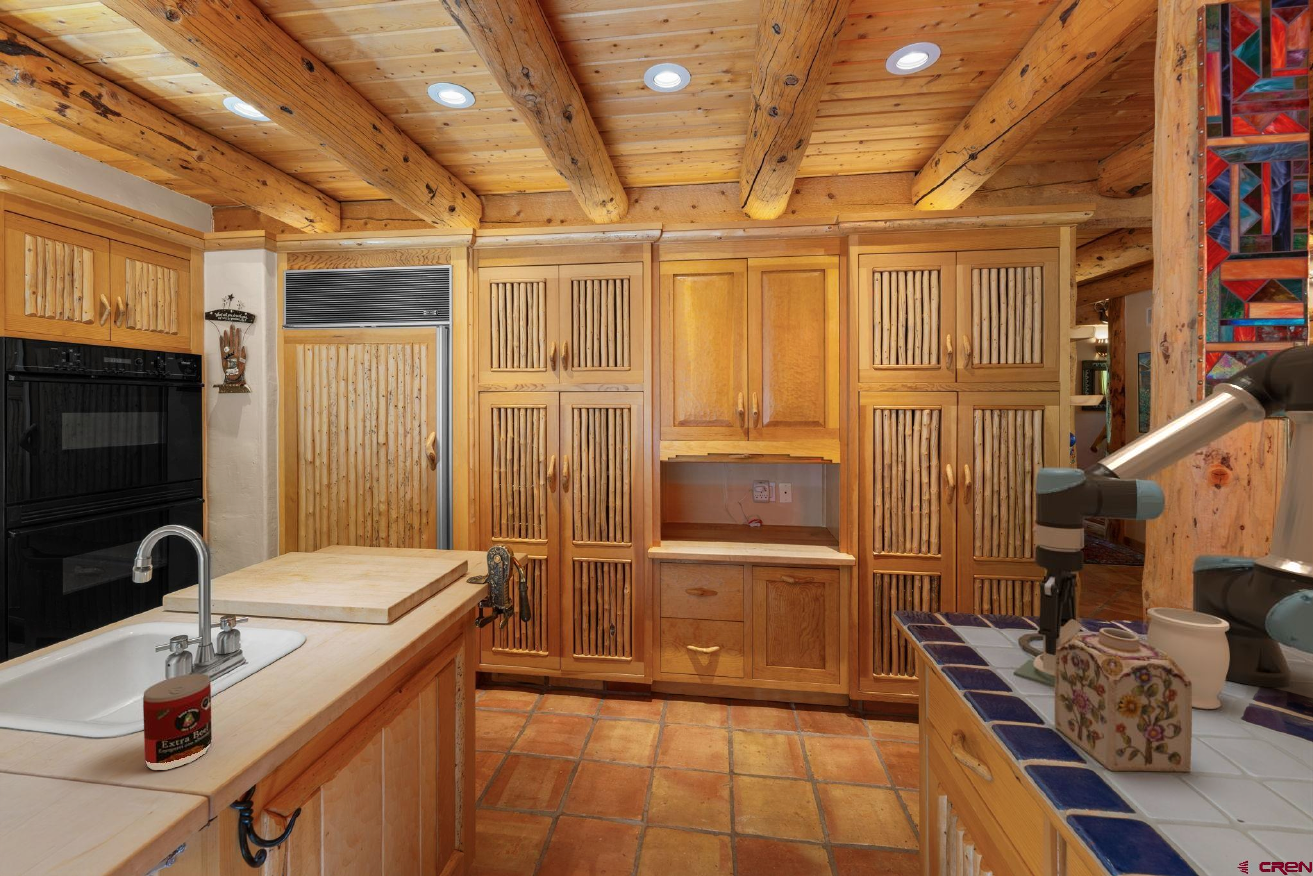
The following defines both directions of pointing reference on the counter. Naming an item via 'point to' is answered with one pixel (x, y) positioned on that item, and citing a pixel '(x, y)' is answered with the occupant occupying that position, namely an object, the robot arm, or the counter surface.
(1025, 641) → the metal ring
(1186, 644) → the jar
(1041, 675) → the rubber mat
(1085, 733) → the decorative jar
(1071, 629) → the hook
